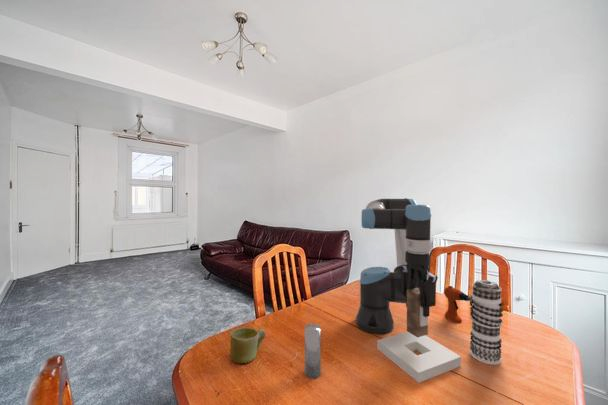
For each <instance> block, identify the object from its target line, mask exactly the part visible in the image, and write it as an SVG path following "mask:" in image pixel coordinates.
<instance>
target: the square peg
mask: <svg viewBox="0 0 608 405" xmlns="http://www.w3.org/2000/svg"><path fill="white" fill-rule="evenodd" d="M420 305H422V302H421V296H420V290H419V288H412V289H407V307H406V332H409V333H411V334H413V335H414V336H416V337H417V338H418V337H421V336H424V335H426V336H427V335H429V333H428V332H429V324H428V325H426V326H422V327H421V326H420Z"/></svg>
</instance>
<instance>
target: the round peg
mask: <svg viewBox="0 0 608 405" xmlns="http://www.w3.org/2000/svg"><path fill="white" fill-rule="evenodd" d="M321 330H322V329H321V326H320V325H319V324H316V323H310V324H309V323H308V324H307V325H305V326H304V374H305V376H306V378H308V377H309V379H310V378H316V379H318V378H320V377H321V375H322V370H321V368H322V367H321V366H322V365H321V364H322V363H321V362H322V360H321V359H322V356H321V354H322V352H321V351H322V349H321V346H322V344H321V343H322V342H321V341H322V340H321V339H322V338H321V336H322V335H321V333H322V332H321Z"/></svg>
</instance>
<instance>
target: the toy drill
mask: <svg viewBox="0 0 608 405" xmlns="http://www.w3.org/2000/svg"><path fill="white" fill-rule="evenodd" d="M443 290H444V291H443V292H444V296H445V297H446V298H447V303H448V304H447V310H446V311H445V313H444V317H445V319H448V320H449V321H450V322H452V323H455V324H457V323H458V324H460V323H462V321H463V320H462V318H461V317H460V316H459V315H458V309H459V306H458V303H457V301H464V302H469V301H470V296H469V295H468V294H466V293H464V292H463V291H462V290H460V289H457V288H455V287H453V286H452V285H449V286H447V287H445V289H443ZM472 300H473V298H472Z"/></svg>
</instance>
